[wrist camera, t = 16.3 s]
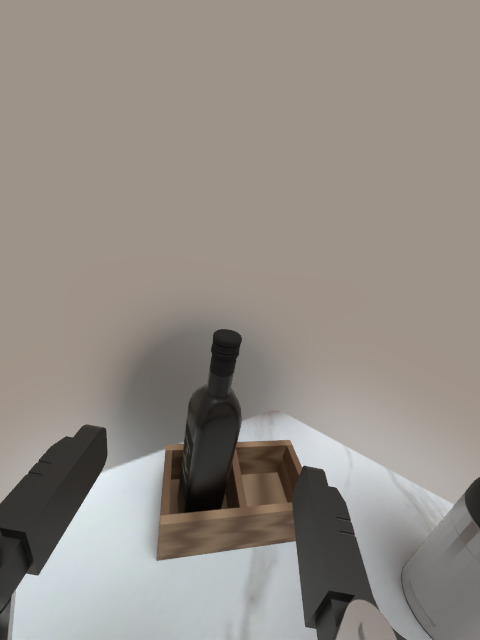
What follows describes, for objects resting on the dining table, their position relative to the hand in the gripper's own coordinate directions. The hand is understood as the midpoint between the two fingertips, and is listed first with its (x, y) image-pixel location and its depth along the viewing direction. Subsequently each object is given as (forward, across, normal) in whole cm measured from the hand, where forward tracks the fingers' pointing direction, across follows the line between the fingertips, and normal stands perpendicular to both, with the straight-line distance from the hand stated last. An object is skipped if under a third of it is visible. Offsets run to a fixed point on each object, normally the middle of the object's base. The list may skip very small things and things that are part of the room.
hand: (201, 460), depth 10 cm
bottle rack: (+18, -4, +34) cm, 39 cm away
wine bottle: (+17, 0, +33) cm, 37 cm away
